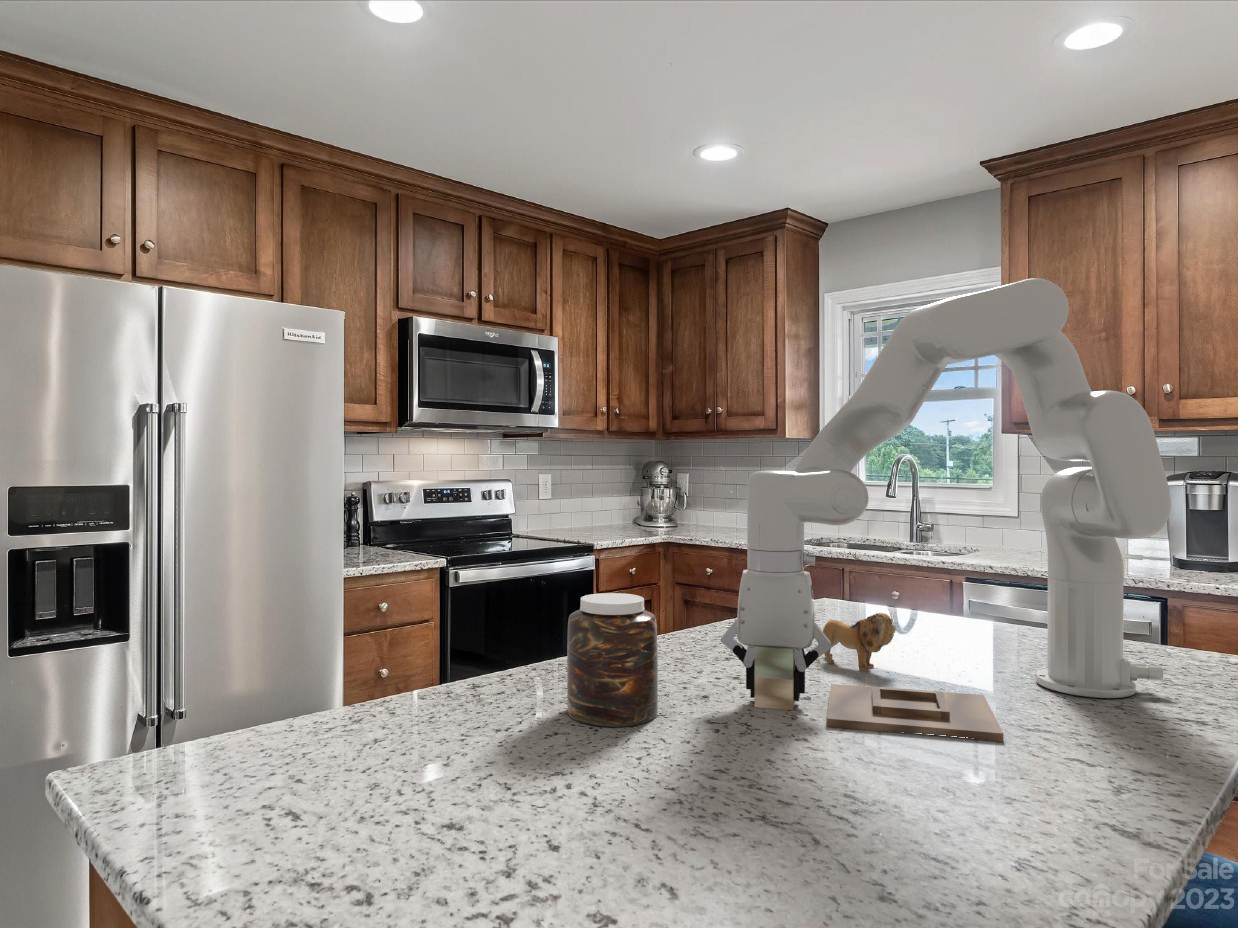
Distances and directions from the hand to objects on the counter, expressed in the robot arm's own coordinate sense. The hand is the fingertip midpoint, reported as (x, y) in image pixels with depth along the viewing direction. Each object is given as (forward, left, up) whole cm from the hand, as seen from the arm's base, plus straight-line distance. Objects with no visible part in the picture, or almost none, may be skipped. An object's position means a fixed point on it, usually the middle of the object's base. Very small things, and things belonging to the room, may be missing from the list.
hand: (775, 695), depth 112 cm
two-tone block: (0, 0, -1) cm, 1 cm away
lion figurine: (-10, -24, -1) cm, 26 cm away
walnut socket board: (-17, 0, -1) cm, 17 cm away
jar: (+20, +10, -1) cm, 22 cm away
